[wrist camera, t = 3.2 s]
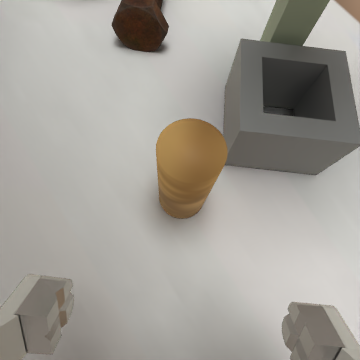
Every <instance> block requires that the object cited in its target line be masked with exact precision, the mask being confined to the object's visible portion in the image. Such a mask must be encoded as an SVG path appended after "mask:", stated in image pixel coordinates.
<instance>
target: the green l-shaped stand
mask: <svg viewBox="0 0 360 360" xmlns="http://www.w3.org/2000/svg"><path fill="white" fill-rule="evenodd" d="M329 1H330V0H276V3H275V5H274V8H273V10H272V13H271V15H270V17H269V20H268V22H267V25H266V27H265V30H264V32H263V35H262V37H261V40H260V41H264V42H273V43H281V44H289V45H298V46H303V44H304V42H305V41H306V39H307V37H308V36H309V34H310V32H311V31H312V29H313V27H314V26H315V24H316V22H317V21H318V19H319V17H320V16H321V14H322V12H323V11H324V9H325V7H326V6H327V4H328V2H329Z"/></svg>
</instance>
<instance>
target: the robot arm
mask: <svg viewBox="0 0 360 360" xmlns="http://www.w3.org/2000/svg"><path fill="white" fill-rule="evenodd" d="M72 287H73V284H72V280H71V279H66V278H58V277H51V276H42V275H34V274H29V275H27V276H26V277H24V279H23V280H22V281H21V283H20V284H19V285H18V286H17V288H16V289H15V290H14V292H13V293H12V294H11V295H10V297H9V298H8V299H7V301H6V302H5V303H4V304H3V306H2V307H1V308H0V360H21V359H22V358H23V357H24V356H25V355H26V353H37V354H53V352H54V350H55V348H56V346H57V344H58V342H59V340H60V338H61V335H62V334H61V328H62V327H63V326H64V325H65V324H67V323H68V320H69V318H70V316H71V313H72V309H73V304H74V295H73V294H72V293H71V292H70V291H71V289H72ZM288 311H289V314H288V315H287V316H285V317H284V319H283V322H282V335H283V339H284V342H285V345H286V346H287V347H288V348H289V349H290V350H291V351H292V353H291V356H290V360H360V346H359V344H358V342H357V341H356V339H355V338H354V336H353V334H352V333H351V331H350V329H349V328H348V326H347V325H346V323H345V321H344V320H343V318H342V317H341V315H340V313H339V312H338V310H337V309H336V308H335V307H334V306H331V305H321V304H319V305H318V304H312V303H301V302H291V303H290V304H289V306H288Z"/></svg>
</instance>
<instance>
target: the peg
mask: <svg viewBox="0 0 360 360" xmlns="http://www.w3.org/2000/svg"><path fill="white" fill-rule="evenodd" d="M227 154H228V152H227V144H226V141H225V139H224V137H223V136H222V134H221V133H220V132H219V130H218V129H216V128H215V127H214V126H213V125H211V124H209V123H208V122H205V121H202V120H199V119H182V120H178V121H176V122H173V123H171V124H170V125H168V126H167V127H166V128H165V129H164V130H163V131H162V132H161V134H160V136H159V138H158V140H157V144H156V157H157V172H158V187H159V200H160V204H161V206H162V208H163V209H164V211H165V212H166V213H168V214H169V215H171V216H173V217H175V218H189V217H191V216H193V215H195V214H196V213H197V212H198V211H199V210H200V209H201V207H202V205H203V204H204V202H205V200H206V198H207V196H208V194H209V193H210V191H211V189H212V187H213V185H214V183H215V182H216V180H217V178H218V176H219V174H220V172H221V171H222V169H223V167H224V165H225V163H226V160H227Z"/></svg>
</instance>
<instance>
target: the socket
mask: <svg viewBox="0 0 360 360" xmlns="http://www.w3.org/2000/svg"><path fill="white" fill-rule="evenodd" d="M263 106H271V107H279V108H288V109H293V112H294V116H286V115H278V114H269V113H263ZM223 137H224V139H225V141H226V144H227V152H228V154H227V160H226V163H225V165H231V166H240V167H249V168H258V169H267V170H276V171H285V172H294V173H303V174H312V175H317V174H319V173H320V172H322V171H323V170H325V169H326V168H328V167H329V166H331V165H332V164H334V163H335V162H337V161H338V160H340V159H341V158H343V157H344V156H346V155H347V154H349V153H350V152H352V151H353V150H355V149H356V148H358V147H359V146H360V128H359V122H358V117H357V111H356V106H355V100H354V95H353V89H352V84H351V78H350V73H349V67H348V62H347V57H346V51H339V50H331V49H322V48H314V47H306V46H298V45H289V44H281V43H273V42H264V41H256V40H248V39H241V40H240V43H239V46H238V49H237V53H236V56H235V59H234V62H233V65H232V68H231V71H230V74H229V77H228V80H227V83H226V87H225V104H224V130H223Z"/></svg>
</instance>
